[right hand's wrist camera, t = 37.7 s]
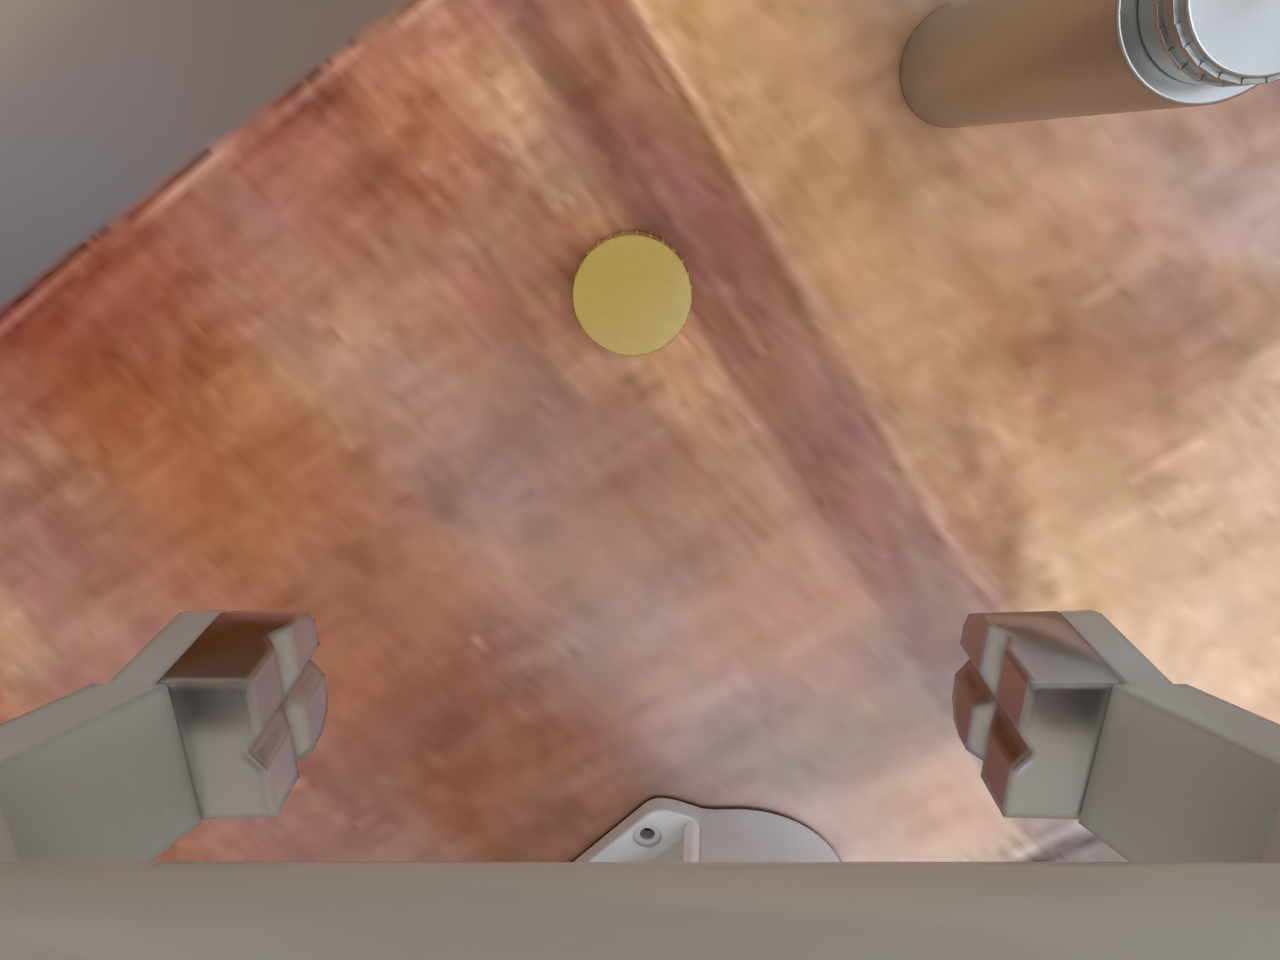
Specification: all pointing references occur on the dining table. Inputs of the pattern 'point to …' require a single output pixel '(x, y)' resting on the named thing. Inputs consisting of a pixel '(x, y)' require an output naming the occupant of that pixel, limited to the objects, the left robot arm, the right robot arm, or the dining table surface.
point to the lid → (632, 293)
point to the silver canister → (1085, 57)
